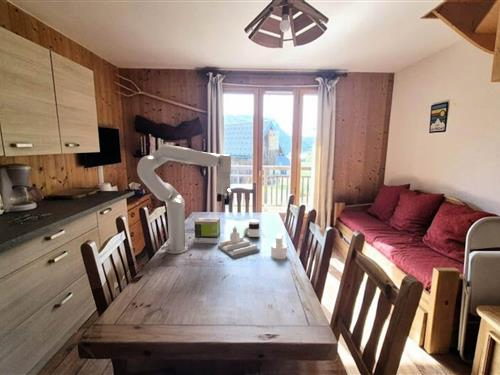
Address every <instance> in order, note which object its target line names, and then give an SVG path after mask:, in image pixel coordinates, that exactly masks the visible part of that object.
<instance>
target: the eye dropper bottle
mask: <svg viewBox="0 0 500 375" xmlns="http://www.w3.org/2000/svg"><path fill="white" fill-rule="evenodd" d="M240 237H241V236H240V232H239V231H238V228H237V226H235V225H234V227H233V228H232V232H231V233H230V237H229V238H230V239H229V240H230V245H233V244H237V243H240Z"/></svg>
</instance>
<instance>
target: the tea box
mask: <svg viewBox="0 0 500 375" xmlns="http://www.w3.org/2000/svg"><path fill="white" fill-rule="evenodd" d="M193 222H194V223H193V225H194V243H196V244H219V242H220V240H221V218H220V217H198V218H197V219H196V220H194V221H193Z"/></svg>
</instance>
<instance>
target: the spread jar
mask: <svg viewBox="0 0 500 375" xmlns="http://www.w3.org/2000/svg"><path fill="white" fill-rule="evenodd" d="M248 221H249V222H248V225H247V226H246V227H245V228H244V229H243V231H242V232H243V233H242V234H243V235H244V236H247V235H248V238H249V239H252V238H256V239H259V238H260V230H261V229H260V227H261V226H260V220H258V219H250V220H248Z"/></svg>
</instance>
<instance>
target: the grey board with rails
mask: <svg viewBox="0 0 500 375" xmlns="http://www.w3.org/2000/svg"><path fill="white" fill-rule="evenodd" d="M219 242H220V244H219V245H217V248H218V249H219V250H221V251H222V252H223V253H225V254H226V255H228V256H229V257H230V258H232V259H233V260H236V259H239V258H243V257H245V256H249V255H252V254H256V253H259V252H260V250H261V249H260V248H258V244H251V241H250V240H244V237H243V236H240V243H237V244H233V245H230V239H227V240H223V241H219Z"/></svg>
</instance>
